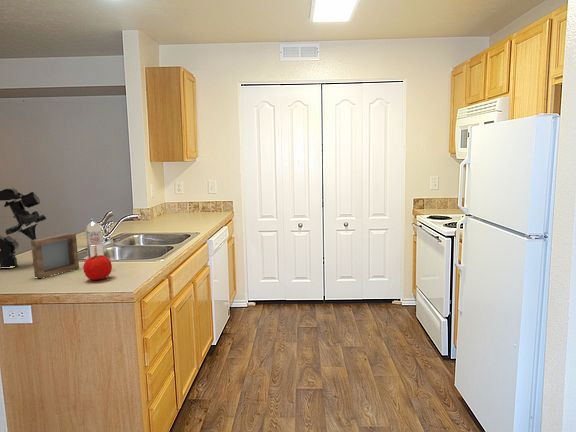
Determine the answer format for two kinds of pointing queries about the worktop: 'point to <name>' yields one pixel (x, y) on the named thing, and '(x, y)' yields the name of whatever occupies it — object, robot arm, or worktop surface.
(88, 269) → the tomato
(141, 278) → the worktop surface
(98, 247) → the water bottle
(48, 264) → the door
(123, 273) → the worktop surface
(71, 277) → the worktop surface
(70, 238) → the cabinet frame
